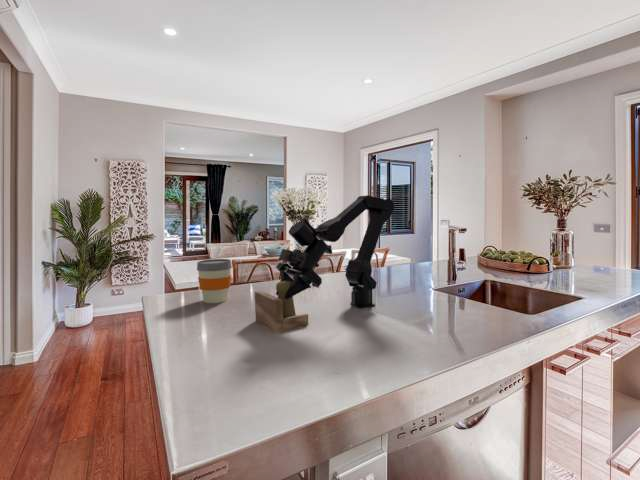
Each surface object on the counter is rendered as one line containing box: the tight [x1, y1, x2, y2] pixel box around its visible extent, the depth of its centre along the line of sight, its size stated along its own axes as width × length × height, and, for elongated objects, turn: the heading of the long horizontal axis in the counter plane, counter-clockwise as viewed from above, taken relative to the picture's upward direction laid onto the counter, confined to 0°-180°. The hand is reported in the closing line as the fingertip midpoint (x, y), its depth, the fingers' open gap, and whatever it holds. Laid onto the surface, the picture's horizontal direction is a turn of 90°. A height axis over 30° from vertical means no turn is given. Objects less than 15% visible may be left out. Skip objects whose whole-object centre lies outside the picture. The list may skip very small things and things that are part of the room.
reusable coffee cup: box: [196, 258, 232, 304], centre depth 129 cm, size 12×13×15 cm
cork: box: [275, 281, 297, 318], centre depth 102 cm, size 6×6×11 cm
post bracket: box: [254, 290, 309, 334], centre depth 101 cm, size 11×14×9 cm
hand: (281, 296), depth 101 cm, fingers closed on cork, 5 cm apart
